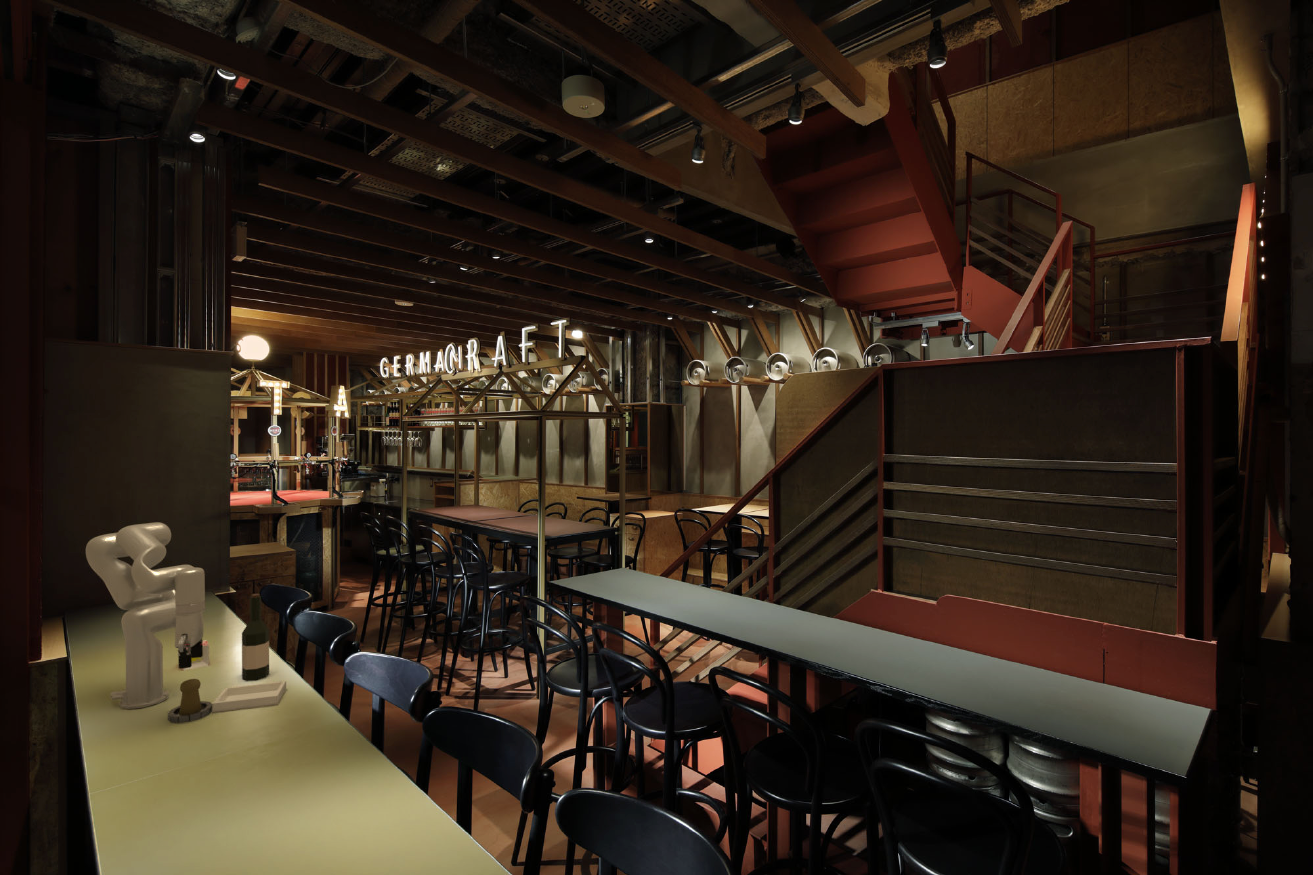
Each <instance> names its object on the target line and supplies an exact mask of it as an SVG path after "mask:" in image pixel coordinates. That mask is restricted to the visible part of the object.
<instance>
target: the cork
mask: <svg viewBox="0 0 1313 875" xmlns="http://www.w3.org/2000/svg"><path fill="white" fill-rule="evenodd" d="M201 684H202V683H201V681H200V680H199V679H197V678H190V679H186V680H184V681H182V683H180V684H179V685H180V687H179V690H180V692H181V693H182V694H181V700H180V705H179V706H180V711H179V714H178V715H185V714H191V713H195V712H198V711H201V710H203V709H202V708H201V702H200V701H201V697H200V696H201V695H200V691H199V689H200V688H201Z"/></svg>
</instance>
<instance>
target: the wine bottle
mask: <svg viewBox="0 0 1313 875" xmlns="http://www.w3.org/2000/svg"><path fill="white" fill-rule="evenodd" d="M269 675H270V628H269V627H268V626H267V624H266V623H265V622H264V620H263V619H262V596H261V595H260V593H253V594H251V596H250V597H249V621H248V623H247V625H246V626H245V628H244V629H243V631H241V680H243V681H245V682H253V681H254V682H256V681H261V680H263V679H266V678H267V677H268V676H269Z"/></svg>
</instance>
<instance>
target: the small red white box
mask: <svg viewBox="0 0 1313 875" xmlns="http://www.w3.org/2000/svg"><path fill="white" fill-rule="evenodd" d="M202 640H203V639H202ZM202 644H203V656H202V657H198V658H192V666H191V667H190V668H182V669H181V670H182V671H188V670H193V669H194V670H195V669H198V668H202V667H208V666H210V644H209V642H208V640H207V639H205V640H203V643H202ZM185 645H187V644H185ZM186 649H187V650H188V648H186Z"/></svg>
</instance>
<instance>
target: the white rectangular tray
mask: <svg viewBox="0 0 1313 875" xmlns="http://www.w3.org/2000/svg"><path fill="white" fill-rule="evenodd" d="M286 690H287V680H283V681H282V680H281V681H273V682H265V683H256V684H248V685H237V686H231V687H230V686H229V687H225V688H224V689H223V690H222V691H221V692H220V694H219V695H218V696H217V697H216V698H215V700H213V702H211V703H212V712H211V713H212V714H215V713H225V712H231V711H232V712H233V711H240V710H248V709H256V708H263V707H272V706H278V705H279V703H280V701H281V699H282V697H283V696H284V694H285V692H286Z"/></svg>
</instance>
